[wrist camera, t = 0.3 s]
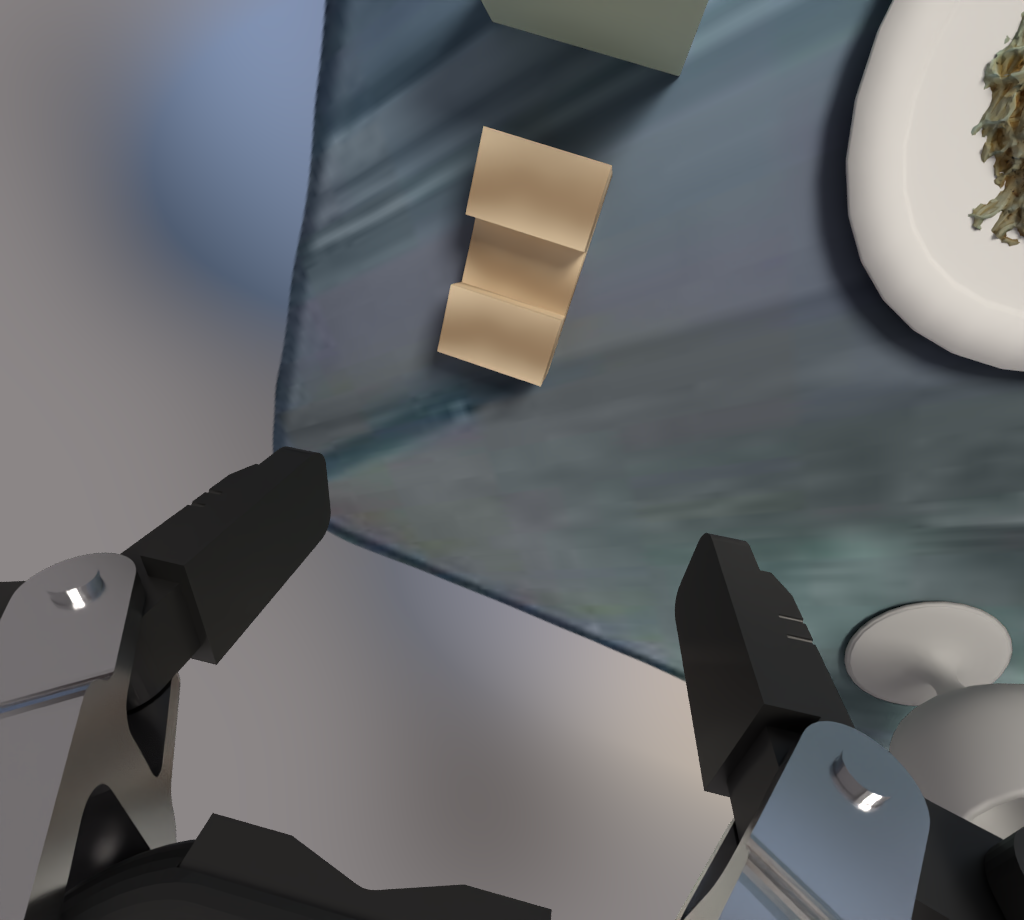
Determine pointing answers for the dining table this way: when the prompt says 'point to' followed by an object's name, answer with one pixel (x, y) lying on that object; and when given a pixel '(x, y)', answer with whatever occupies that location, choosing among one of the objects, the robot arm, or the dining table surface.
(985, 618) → the chalice
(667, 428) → the dining table surface
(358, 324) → the dining table surface
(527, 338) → the slotted maple beam
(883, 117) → the plated food
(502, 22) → the sage plate
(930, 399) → the dining table surface
